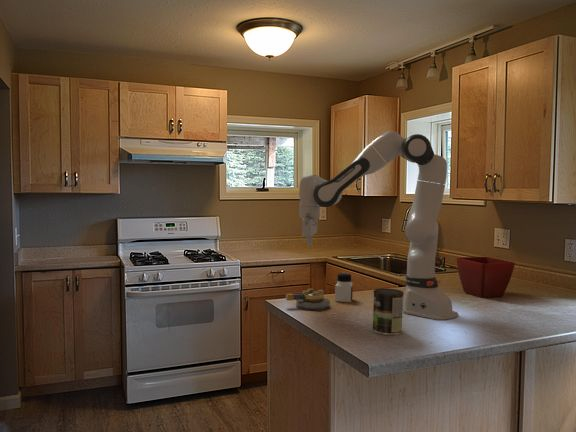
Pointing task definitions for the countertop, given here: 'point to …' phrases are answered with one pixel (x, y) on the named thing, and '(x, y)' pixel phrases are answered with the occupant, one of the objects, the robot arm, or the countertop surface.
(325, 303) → the plate
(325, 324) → the countertop surface
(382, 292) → the coffee can
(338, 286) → the medicine bottle
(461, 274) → the plant pot
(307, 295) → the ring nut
